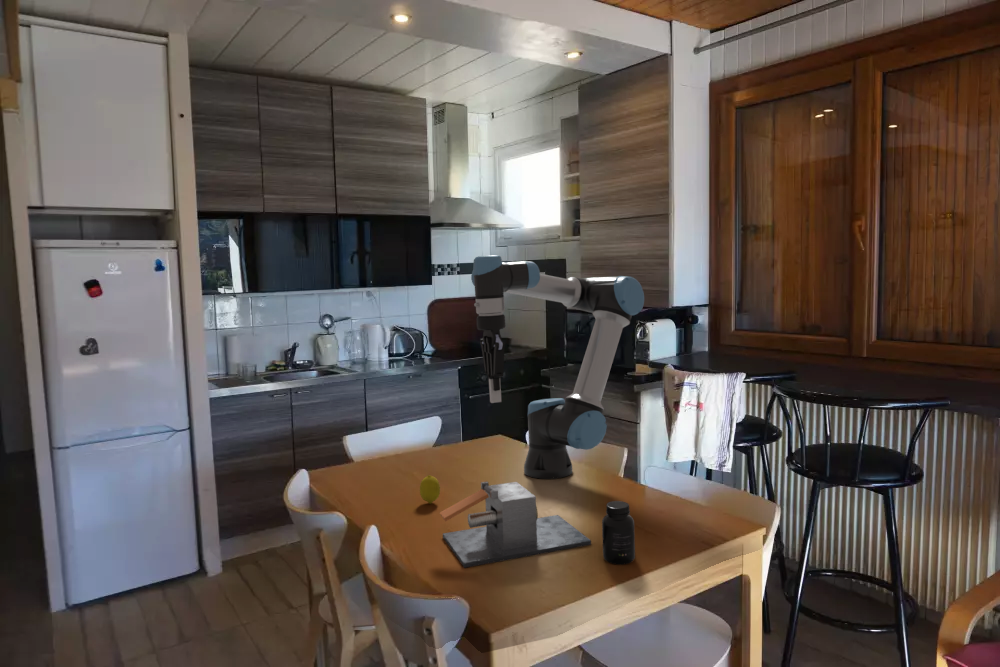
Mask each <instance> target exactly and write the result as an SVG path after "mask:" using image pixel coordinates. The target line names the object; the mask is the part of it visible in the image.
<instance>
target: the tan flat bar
mask: <svg viewBox="0 0 1000 667" xmlns="http://www.w3.org/2000/svg"><path fill="white" fill-rule="evenodd" d="M489 486H490V485H489ZM489 486H487V485H486V486H485V487H484V490H485V491H486V492H487V493H488V494H490V491H491V490H492V489H491V488H490V487H489ZM484 490H483V489H481V488H480V490H477V491H476V492H474V493H472V494H470V495H468V496H467V497H465V498H463V499H461V500H460V501H457V502H456V503H454V504H453V505H451V506H449V507H447V508H445V509H444V510H442V511H440V512H439V514H440V516H441V517H442V519H443V520H444V522H447V521H449V520H451V519H452V518H454V517H456V516H457V515H460V514H461V513H464V512H465V511H467V510H469V509H470V508H472V507H474V506H476V505H478V504H480V503H482V502H483V501H486V500H485V499H486V498H488V497H489V496H488V494H487V493H486V492H485V491H484Z"/></svg>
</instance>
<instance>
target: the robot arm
mask: <svg viewBox="0 0 1000 667" xmlns="http://www.w3.org/2000/svg"><path fill="white" fill-rule="evenodd" d="M472 265H473V268H472V269H473V270H472V272H471V277H470V278H471V283H472V284H473V287H474V296H475V297H474V298H475V303H474V304H473V305H474V307H475V312H476V314H477V317H476V329H477V330H478V331H483V333H482V338H480V339H479V344H480V347H481V353H482V360H483V367H484V374H485V375H486V376H487V378H488V389H489V391H488V392H489V403H491V404H494V403H502V390H501V388H502V386H501V378H502V377H504V366H505V350H506V349H505V348H506V342H505V341H502V335H501V331H500V330H503V329H505V327H506V315H505V314H504V312H505V311H506V308H505V306H506V305H505V296H504V293H507V294H512V295H518V296H524V297H527V298H528V297H529V298H533V299H540V300H545V301H550V302H556V303H561V304H562V305H563V306H564V307H566V308H571V309H575V310H576V309H577V310H580V311H583V312H588V313H591V314H592V316H593V317H594V318H595V321H594V324H593V327H592V331H591V334H590V337H589V340H588V344H587V347H586V350H585V352H584V353H585V354H584V356H583V360H582V363H581V366H580V368H579V373H578V375H577V379H576V381H575V385H574V388H573V392H572V393H571V394H569V395H567V396H566V397H565V398H561V397H558V398H555V397H554V398H542V399H538V400H533V401H530V403H529V404H528V405H527V413H526V414H527V427H528V431H527V432H528V452H527V454H526V457H525V462H524V464H523V471H524V472H523V473H524V474H525V476H528V477H530V478H534V479H541V480H551V479H561V478H565V477H568V476H570V475H571V474H573V463H572V460H571V458H570V455H569V452H568V449H567V447H571V448H574V449H575V450H583V451H584V450H586V451H587V450H592V449H594V448H595V447H597V446H598V445H600V444H601V442H602V441H603V439H604V438H605V435H606V433H607V426H608V425H607V423H606V422H607V420H606V417H605V415H604V414H603V412H604V411H605V410H604V409H605V408H604V405H602V402H601V401H602V398H603V396H604V392H605V389H606V385H607V381H608V379H609V375H610V371H611V368H612V367H613V366H612V364H613V363H614V359H615V355H616V353H617V348H618V345H619V342H620V339H621V336H622V333H623V329H624V328H625V327H627V326H629V325H630V324H631V320H632V316H635V315H638V314H639V313H640V312H641V311H642V310H643V309H644V308H643V307H644V304H645V294H644V293H645V292H644V290H643V287H642V285H641V283H640V282H639V280H637V278H634V277H633V276H627V275H625V276H624V275H617V276H595V277H593V276H592V277H575V276H570V277H567V278H564V277H559V276H553V275H548V274H544V273H541V271H540V268H539V266H538V264H536V263H535V262H534V261H528V260H521V261H510V262H503V260H502V256H500V255H498V254H497V255H481V256H480V255H479V256H476V257H475V258H474V259H473V264H472Z"/></svg>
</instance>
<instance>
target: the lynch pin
mask: <svg viewBox="0 0 1000 667" xmlns="http://www.w3.org/2000/svg"><path fill="white" fill-rule="evenodd" d="M538 516H539V514H538V507H537V506H536V521H537V518H539V517H538ZM467 524H468V527H469V528H470V529H473V528H479V527H486V525H491V524H497V510H492V511H486V510H485V511H481V512H474V513H468V515H467Z"/></svg>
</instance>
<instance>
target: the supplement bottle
mask: <svg viewBox="0 0 1000 667" xmlns="http://www.w3.org/2000/svg"><path fill="white" fill-rule="evenodd" d="M605 506H606V509H605V510H606V511H605V513H606V514H605V515H604V516H603V518H602V521H601V524H602V525H601V526H602V527H601V528H602V529H601V531H602V535H601V536H602V556H603V559H604V561H606V562H607V563H609V564H612V565H620V566H621V565H622V566H623V565H627V564H630V563H633V562H634V560H635V559H636V544H635V543H636V540H635V538H636V536H635V520H634V518H633V517H632V515H630V513H631V511H630V504H629V503H628V502H625V501H621V500H612V501H609V502H607V503H606V505H605Z"/></svg>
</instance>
